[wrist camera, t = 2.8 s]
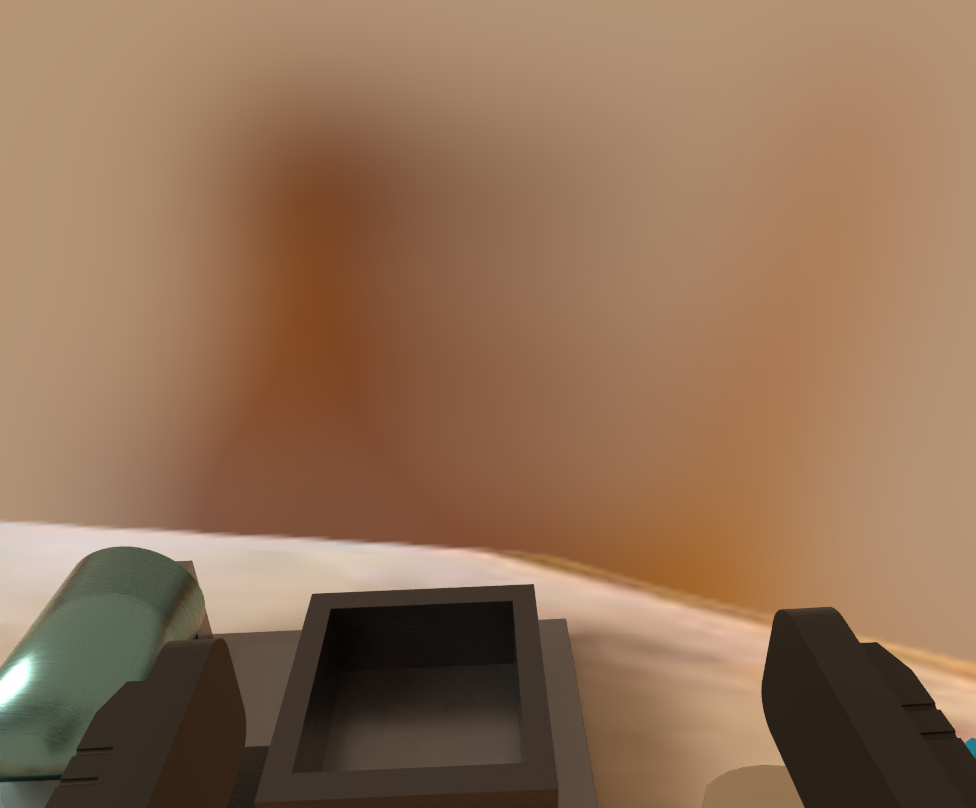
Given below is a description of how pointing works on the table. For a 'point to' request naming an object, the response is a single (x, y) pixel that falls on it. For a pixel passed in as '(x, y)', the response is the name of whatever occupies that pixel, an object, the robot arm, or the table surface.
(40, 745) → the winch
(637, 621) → the table surface
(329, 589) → the table surface
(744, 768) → the handle
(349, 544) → the table surface
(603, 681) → the table surface
